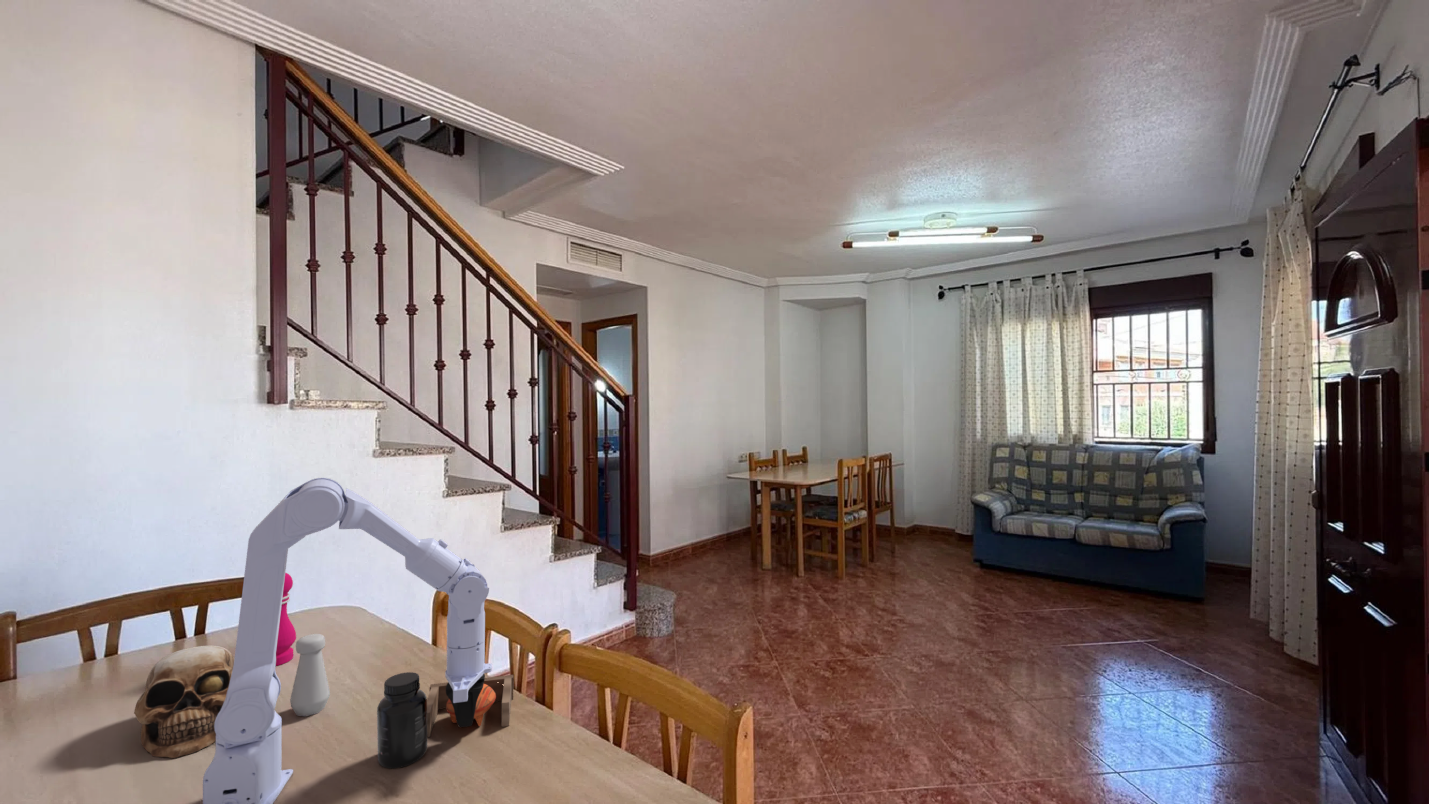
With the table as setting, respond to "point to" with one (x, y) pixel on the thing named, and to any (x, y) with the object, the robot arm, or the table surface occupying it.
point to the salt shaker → (310, 677)
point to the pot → (477, 704)
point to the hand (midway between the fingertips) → (465, 724)
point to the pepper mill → (285, 627)
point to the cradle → (503, 693)
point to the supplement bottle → (402, 721)
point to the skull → (184, 700)
